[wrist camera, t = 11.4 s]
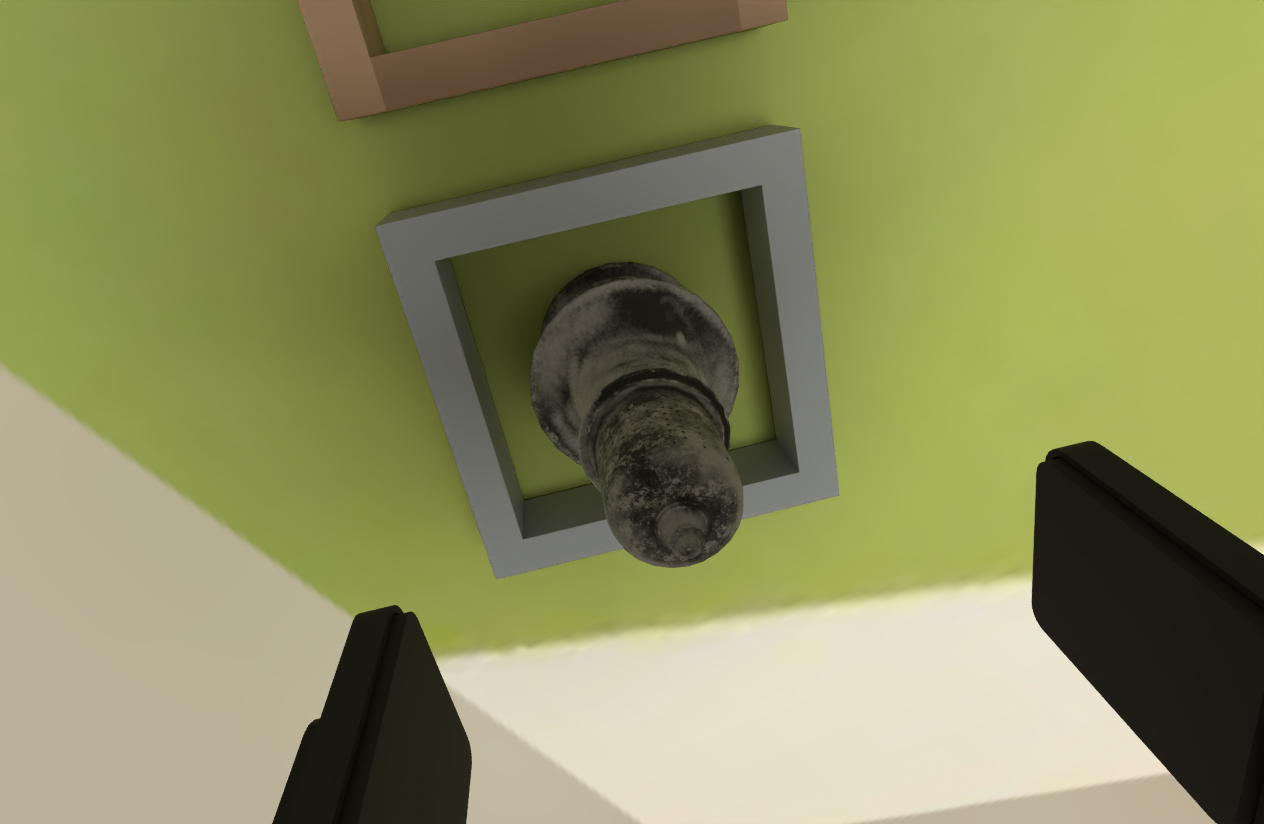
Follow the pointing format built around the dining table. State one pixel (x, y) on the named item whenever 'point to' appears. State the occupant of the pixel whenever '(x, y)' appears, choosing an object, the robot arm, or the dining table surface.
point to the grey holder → (590, 196)
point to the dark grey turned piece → (644, 408)
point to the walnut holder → (505, 47)
